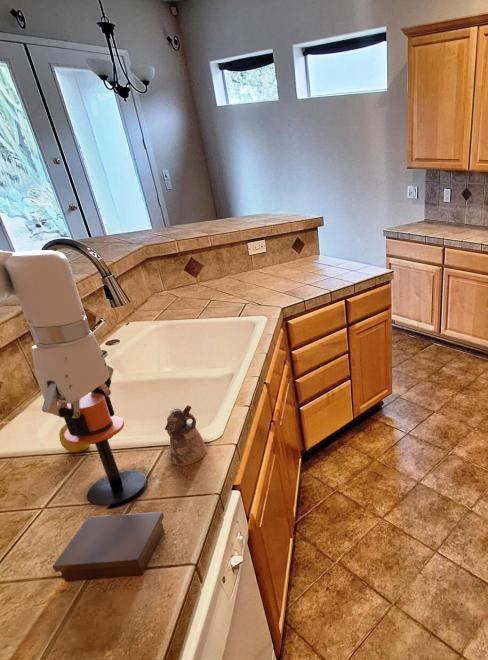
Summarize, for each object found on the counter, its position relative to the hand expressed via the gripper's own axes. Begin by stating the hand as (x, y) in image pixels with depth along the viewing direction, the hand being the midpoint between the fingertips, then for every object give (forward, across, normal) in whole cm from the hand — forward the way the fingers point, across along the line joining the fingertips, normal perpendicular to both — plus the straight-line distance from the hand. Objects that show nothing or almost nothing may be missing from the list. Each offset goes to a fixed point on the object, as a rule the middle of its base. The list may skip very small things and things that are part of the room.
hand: (93, 424), depth 77 cm
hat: (+1, 0, 0) cm, 1 cm away
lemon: (+16, -12, -16) cm, 25 cm away
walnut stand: (+16, +14, +10) cm, 24 cm away
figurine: (+16, -12, +8) cm, 22 cm away
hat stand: (+16, 0, 0) cm, 16 cm away
